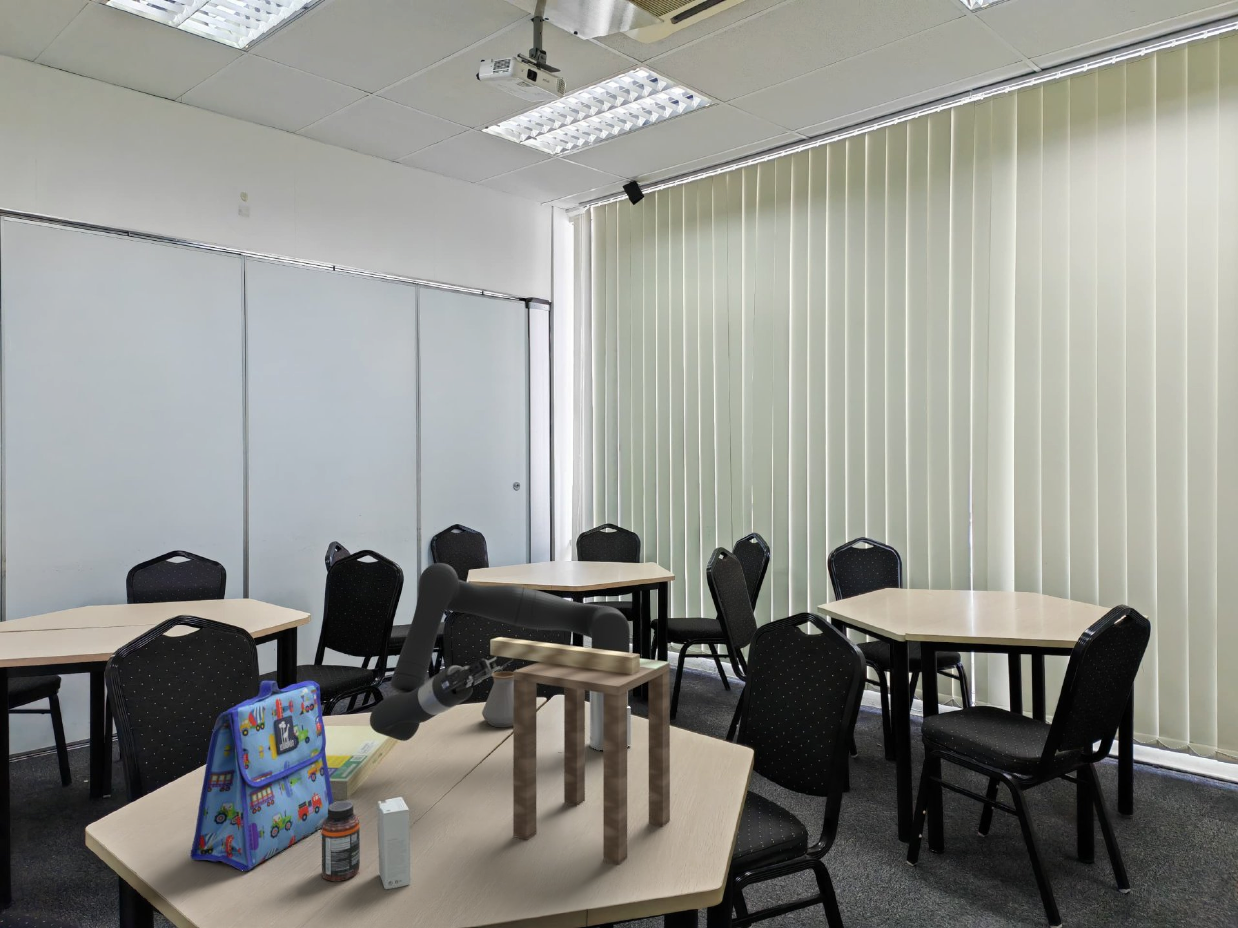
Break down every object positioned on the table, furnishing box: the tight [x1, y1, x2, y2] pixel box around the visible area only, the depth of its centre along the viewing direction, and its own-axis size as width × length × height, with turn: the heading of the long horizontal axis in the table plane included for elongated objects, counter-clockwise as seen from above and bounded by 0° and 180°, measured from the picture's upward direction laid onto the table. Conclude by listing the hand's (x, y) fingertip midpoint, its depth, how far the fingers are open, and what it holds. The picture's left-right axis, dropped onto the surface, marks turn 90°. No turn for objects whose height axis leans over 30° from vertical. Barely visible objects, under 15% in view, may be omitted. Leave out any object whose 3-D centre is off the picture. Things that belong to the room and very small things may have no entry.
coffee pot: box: [481, 671, 514, 728], centre depth 214 cm, size 21×12×15 cm, turn 99°
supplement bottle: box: [321, 800, 361, 882], centre depth 133 cm, size 6×6×11 cm
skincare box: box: [376, 796, 412, 890], centre depth 131 cm, size 6×4×12 cm
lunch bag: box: [190, 680, 334, 872], centre depth 145 cm, size 22×14×29 cm, turn 160°
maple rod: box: [489, 636, 641, 674], centre depth 154 cm, size 32×3×3 cm, turn 61°
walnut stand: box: [512, 657, 671, 865], centre depth 150 cm, size 22×20×30 cm
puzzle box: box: [324, 725, 399, 801], centre depth 181 cm, size 36×5×24 cm
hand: (498, 658), depth 161 cm, fingers open, 8 cm apart
